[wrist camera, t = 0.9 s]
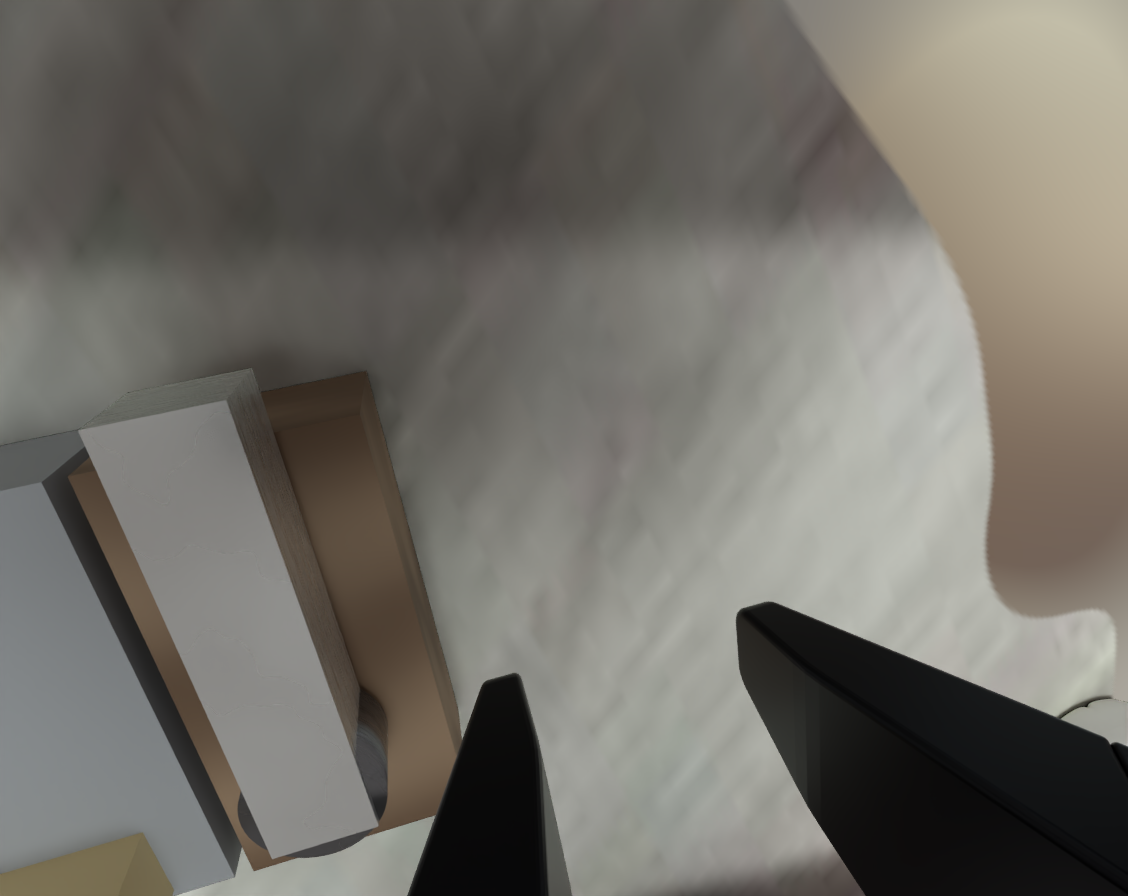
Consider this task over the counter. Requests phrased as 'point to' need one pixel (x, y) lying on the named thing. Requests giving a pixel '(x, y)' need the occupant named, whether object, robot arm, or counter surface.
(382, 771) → the bar
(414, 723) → the jamb block
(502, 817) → the robot arm
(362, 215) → the counter surface
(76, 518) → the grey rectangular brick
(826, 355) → the counter surface
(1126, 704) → the water bottle
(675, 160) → the counter surface
